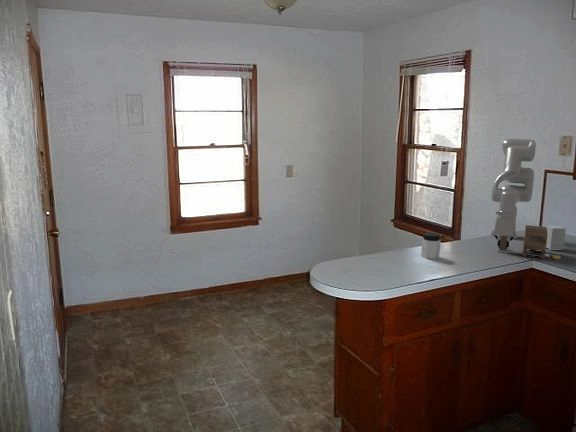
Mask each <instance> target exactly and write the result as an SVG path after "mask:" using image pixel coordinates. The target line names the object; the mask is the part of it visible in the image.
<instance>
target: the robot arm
mask: <svg viewBox="0 0 576 432" xmlns="http://www.w3.org/2000/svg"><path fill="white" fill-rule="evenodd" d="M501 143H502V144H501V146H502V152H503V154H504V163H503V164H504V165H503V171H502V172H501V173H499V174H498V175H497V177H495V179H494V181H493V185H492V189H491V190H492V191H491V200H492V201H493V202H495V203H499V209H498V211H496V212H495V214H496V215H498V216H496V219H495V223H494V229H493V230H492V232H491V233H490V235H491V236H493V237H494V238H495V239H496V240H497V245H496V246H497V247H498V249H499V248H500V241H501V236H507V238H508V239H507V242H506V249H508V248H509V247H510V242H511V241H513V240H515V239H518V234H517V232H516V227H517V226H516V224H517V222H516V221H517V214H518V212H517V211H518V208H517V206H516V204H518V203H519V202H520V203H528V202H530V201H532V198H533V191H534V190H533V189H534V181H535V171H534V168H531V167H522V162H528V163H529V162H530V163H531V162H533V161H534V159H535V156H536V149H537V148H536V147H537V145H536V144H537V143H536V141H535V140H534V139H527V138H524V139H523V138H506V139H504V140H503V141H502V142H501ZM504 181H505V182H506V183H508V184H505V185H502V186H501V187H500V188H499V185H500V184H501V183H502V182H504ZM509 183H510V184H509ZM516 184H518V185H516ZM520 184H521V185H520ZM522 184H523V185H522Z"/></svg>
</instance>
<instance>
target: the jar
mask: <svg viewBox="0 0 576 432" xmlns="http://www.w3.org/2000/svg"><path fill="white" fill-rule="evenodd" d="M422 236H423V238H422V241H421V250H420V251H421V253H420V256H421V257H422V258H425V259H426V258H429V260H436V259H439V258H440V253H441V234H440V233H437V232H430V231H429V232H424V233H423V235H422Z"/></svg>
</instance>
